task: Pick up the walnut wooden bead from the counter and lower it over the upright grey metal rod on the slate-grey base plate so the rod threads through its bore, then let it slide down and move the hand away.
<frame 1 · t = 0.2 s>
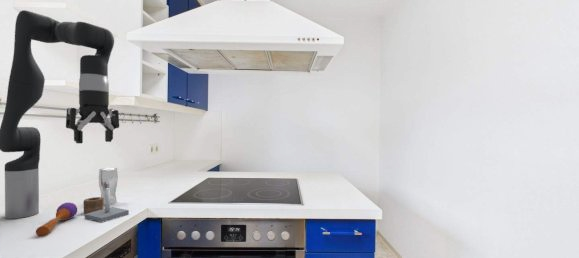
hand: (94, 142, 86), 29 cm above the counter, tool pointing down, fingers open, 8 cm apart
rod stand: (107, 216, 104), on the counter
bead: (93, 211, 109), on the counter
beer glass: (108, 203, 121), on the counter
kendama: (57, 226, 95), on the counter
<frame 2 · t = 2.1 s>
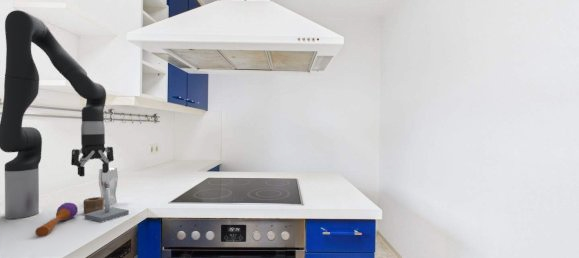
hand: (93, 174, 109), 15 cm above the counter, tool pointing down, fingers open, 8 cm apart
nothing on the counter moved.
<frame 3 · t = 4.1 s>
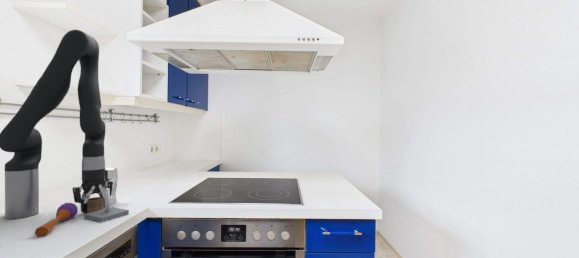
hand: (93, 210, 109), 1 cm above the counter, tool pointing down, fingers closed on bead, 6 cm apart
bead: (93, 211, 109), on the counter, touching gripper
everything else where it was.
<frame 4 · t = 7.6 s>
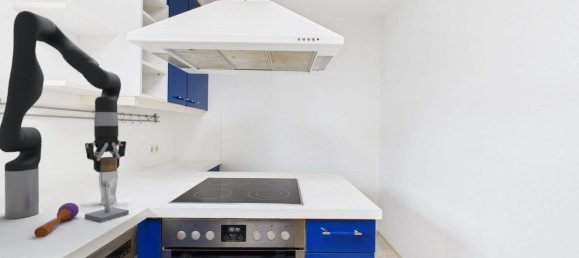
hand: (106, 169, 104), 18 cm above the counter, tool pointing down, fingers closed on bead, 6 cm apart
bead: (107, 171, 104), point 17 cm above the counter, touching gripper
everything else where it was.
when the fingers open (6 cm above the counter, at t = 10.9 s): bead drops 3 cm, resting on rod stand.
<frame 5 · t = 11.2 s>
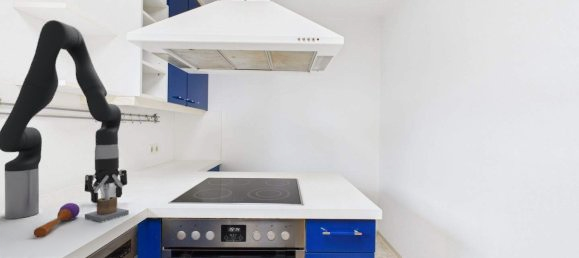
hand: (107, 199, 104), 6 cm above the counter, tool pointing down, fingers open, 8 cm apart
bead: (107, 212, 104), point 1 cm above the counter, touching rod stand
everything else where it was.
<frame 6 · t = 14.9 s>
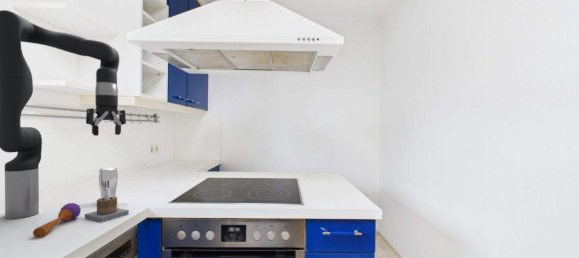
hand: (107, 135, 112), 30 cm above the counter, tool pointing down, fingers open, 8 cm apart
at the end: bead 0.0 cm from the rod stand (horizontally); bead point 1.5 cm above the counter; the gripper is holding nothing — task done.
